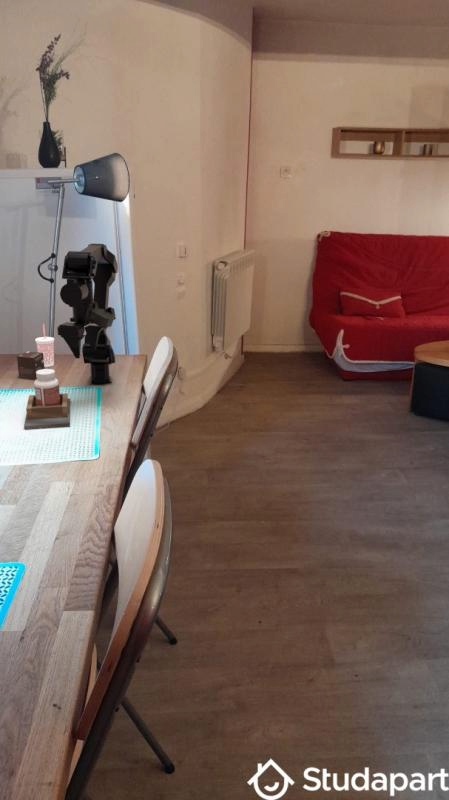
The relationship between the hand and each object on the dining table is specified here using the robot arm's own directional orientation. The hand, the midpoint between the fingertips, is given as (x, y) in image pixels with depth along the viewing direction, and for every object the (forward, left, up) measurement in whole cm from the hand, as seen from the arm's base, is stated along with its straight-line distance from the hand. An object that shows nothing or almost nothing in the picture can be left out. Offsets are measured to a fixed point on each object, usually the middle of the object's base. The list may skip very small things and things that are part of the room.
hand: (85, 353), depth 158 cm
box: (-22, -17, -13) cm, 31 cm away
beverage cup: (-34, -13, -13) cm, 39 cm away
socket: (+12, -11, -13) cm, 21 cm away
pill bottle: (+12, -10, -12) cm, 20 cm away
